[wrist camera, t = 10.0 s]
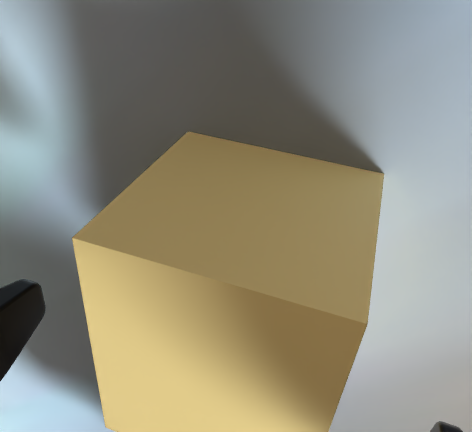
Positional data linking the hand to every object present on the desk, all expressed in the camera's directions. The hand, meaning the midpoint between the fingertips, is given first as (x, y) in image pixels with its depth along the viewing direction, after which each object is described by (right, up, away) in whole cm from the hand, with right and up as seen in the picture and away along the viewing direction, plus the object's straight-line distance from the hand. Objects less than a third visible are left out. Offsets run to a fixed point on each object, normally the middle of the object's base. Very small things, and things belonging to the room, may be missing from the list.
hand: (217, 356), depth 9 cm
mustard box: (+1, +2, +3) cm, 4 cm away
